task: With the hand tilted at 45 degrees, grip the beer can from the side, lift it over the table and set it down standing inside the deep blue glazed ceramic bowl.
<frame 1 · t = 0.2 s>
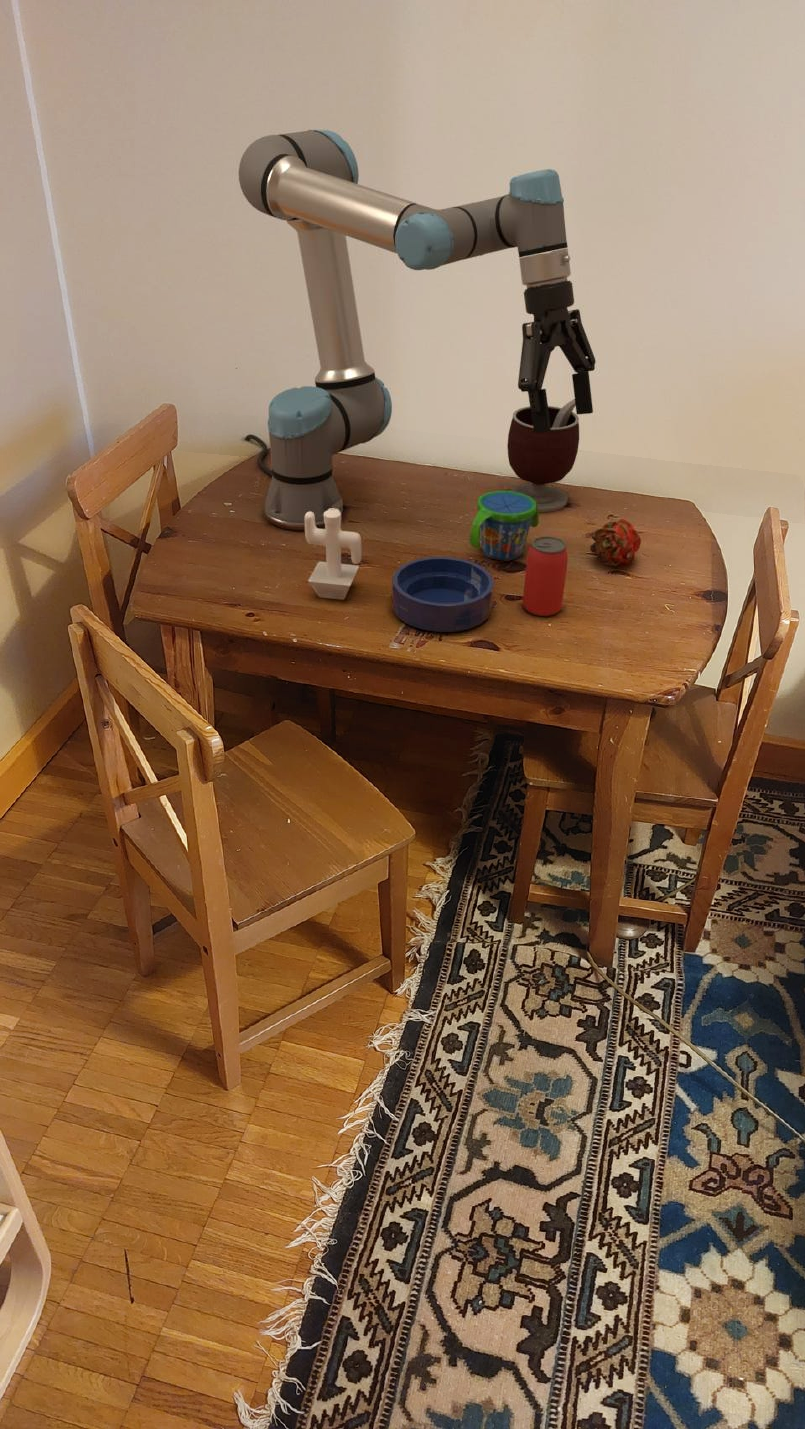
hand: (564, 423, 164), 28 cm above the table, tool tilted 20°, fingers open, 13 cm apart
figurine: (334, 593, 173), on the table
beer can: (541, 609, 171), on the table
bowl: (441, 609, 169), on the table
mate gourd: (540, 499, 206), on the table
snack cup: (502, 554, 186), on the table
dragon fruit: (612, 561, 185), on the table
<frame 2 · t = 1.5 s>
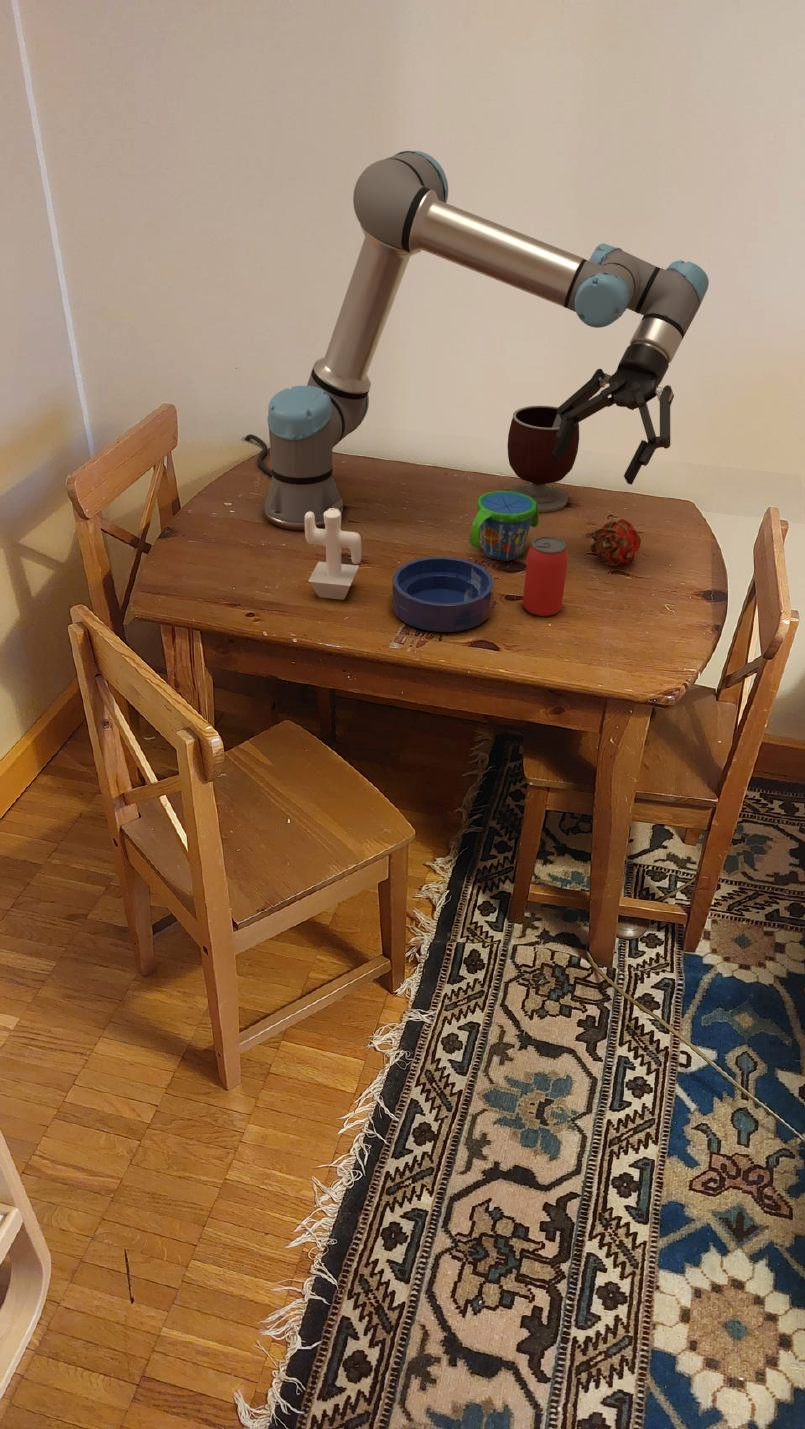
hand: (590, 469, 164), 21 cm above the table, tool tilted 45°, fingers open, 13 cm apart
nothing on the table moved.
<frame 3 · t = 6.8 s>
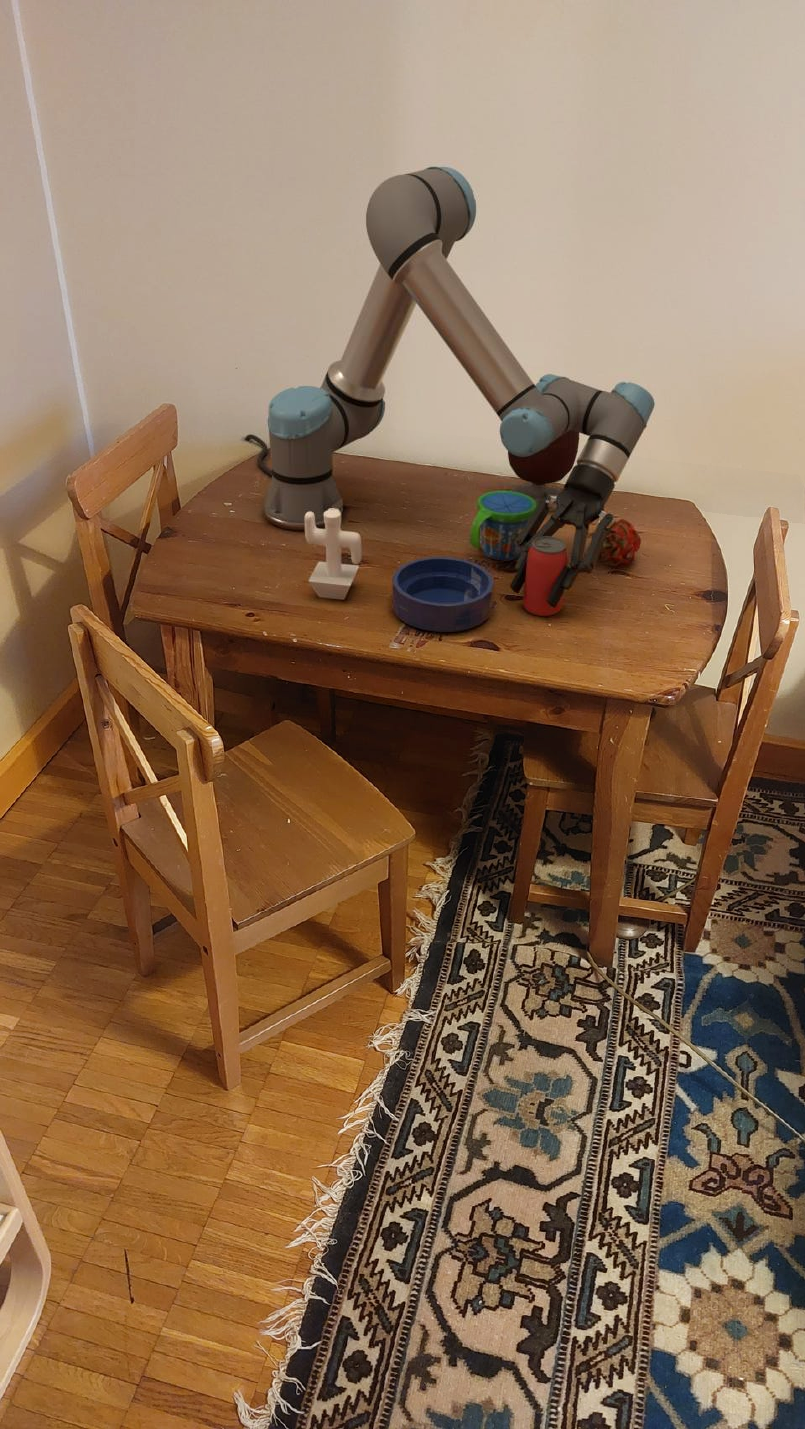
hand: (532, 597, 166), 4 cm above the table, tool tilted 45°, fingers closed on beer can, 6 cm apart
beer can: (541, 608, 171), on the table, touching gripper
everything else where it was.
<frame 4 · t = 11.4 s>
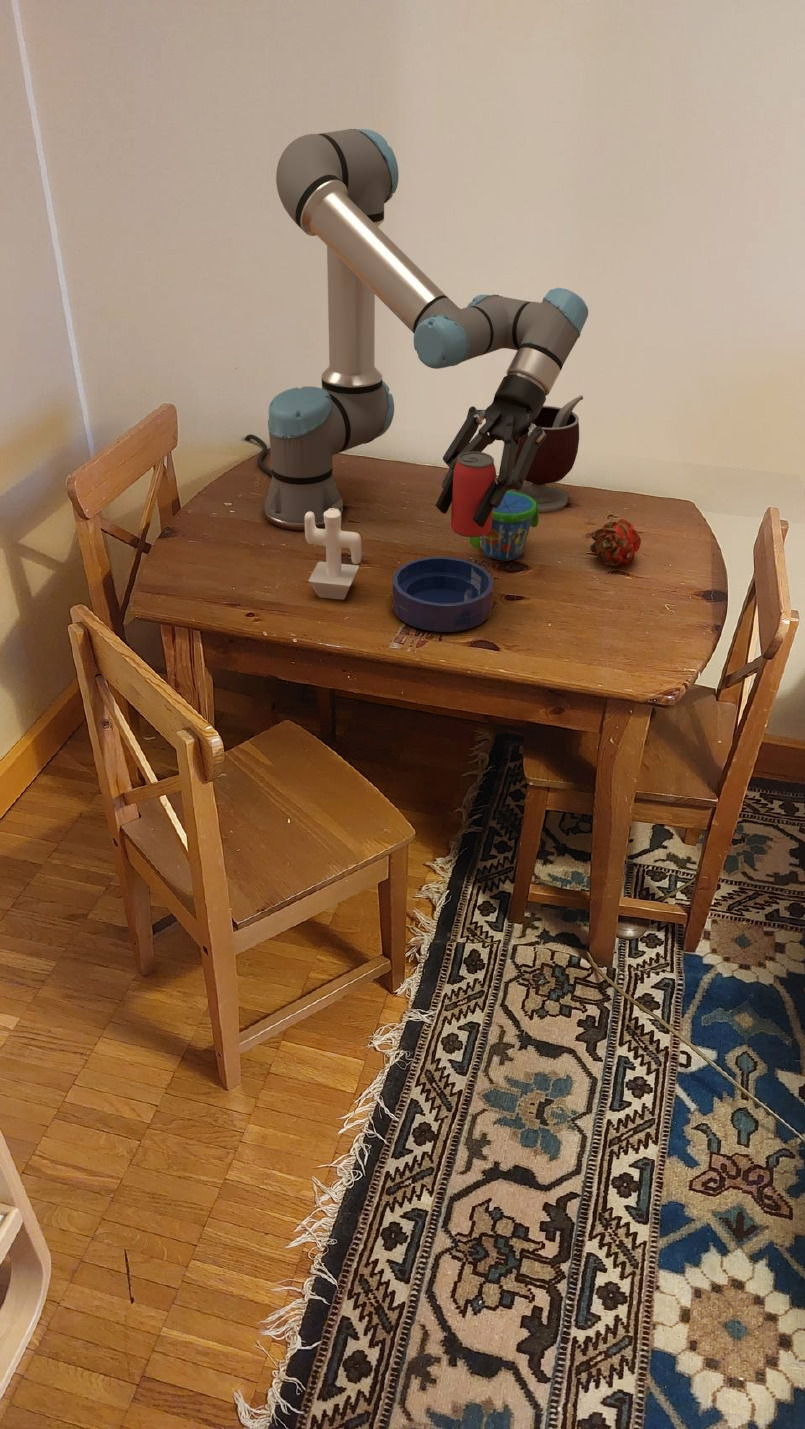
hand: (459, 516, 157), 18 cm above the table, tool tilted 45°, fingers closed on beer can, 6 cm apart
beer can: (470, 530, 161), point 14 cm above the table, touching gripper
everything else where it was.
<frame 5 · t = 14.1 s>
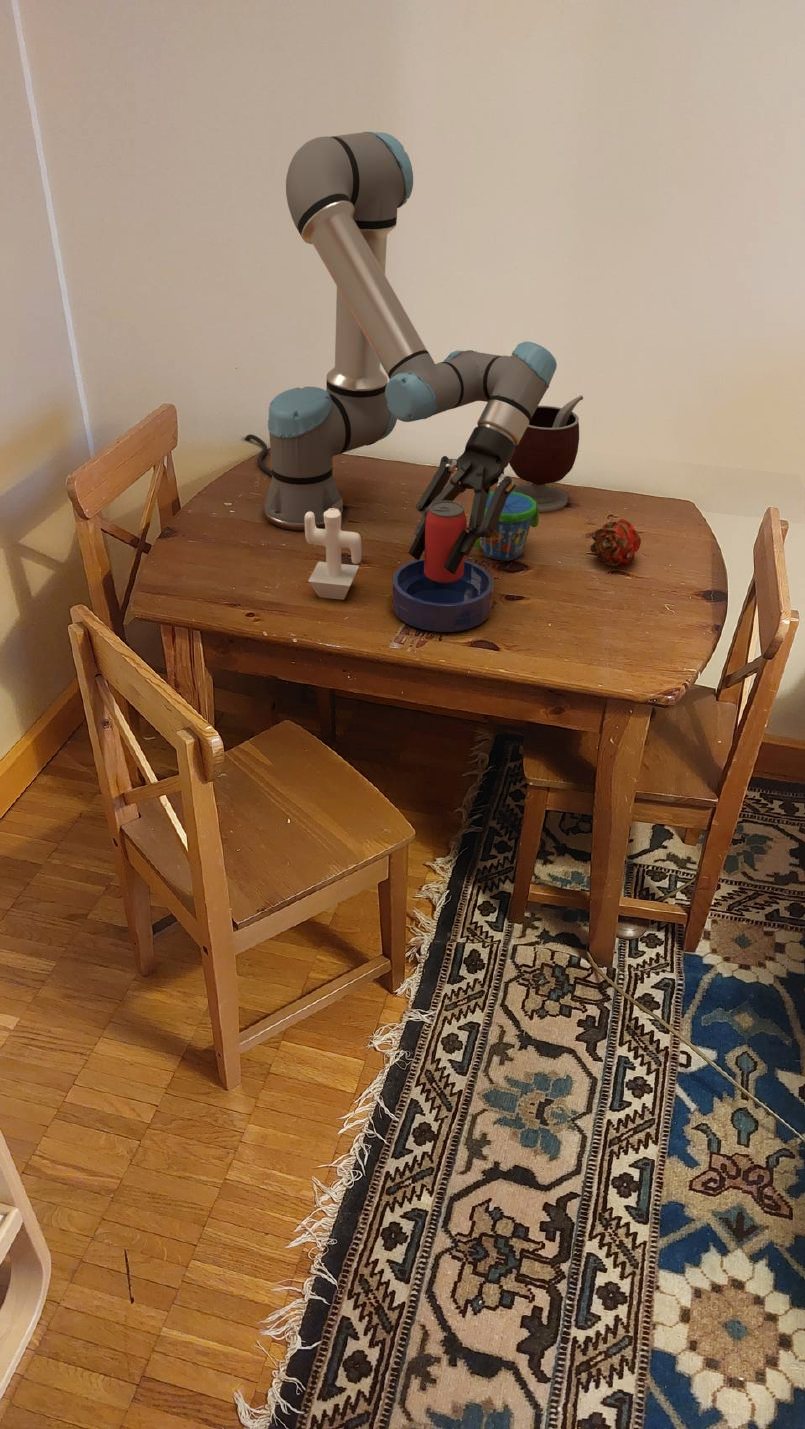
hand: (431, 563, 161), 10 cm above the table, tool tilted 45°, fingers closed on beer can, 6 cm apart
beer can: (443, 576, 166), point 6 cm above the table, touching gripper
everything else where it was.
when the fingers open (4 cm above the table, at t = 16.1 s): beer can stays where it is, resting on bowl.
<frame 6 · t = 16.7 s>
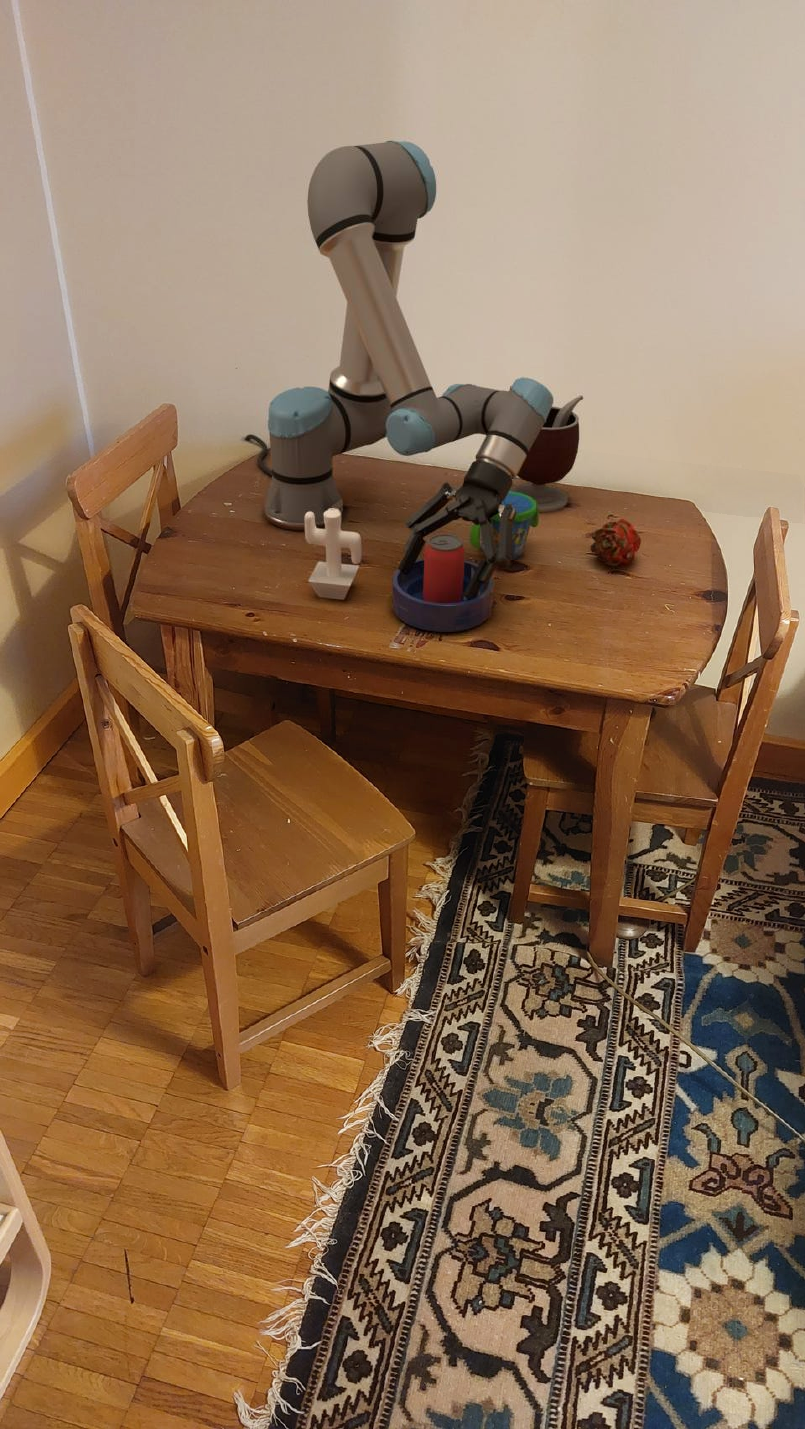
hand: (434, 585, 165), 6 cm above the table, tool tilted 45°, fingers open, 13 cm apart
beer can: (442, 606, 169), resting on bowl
everything else where it was.
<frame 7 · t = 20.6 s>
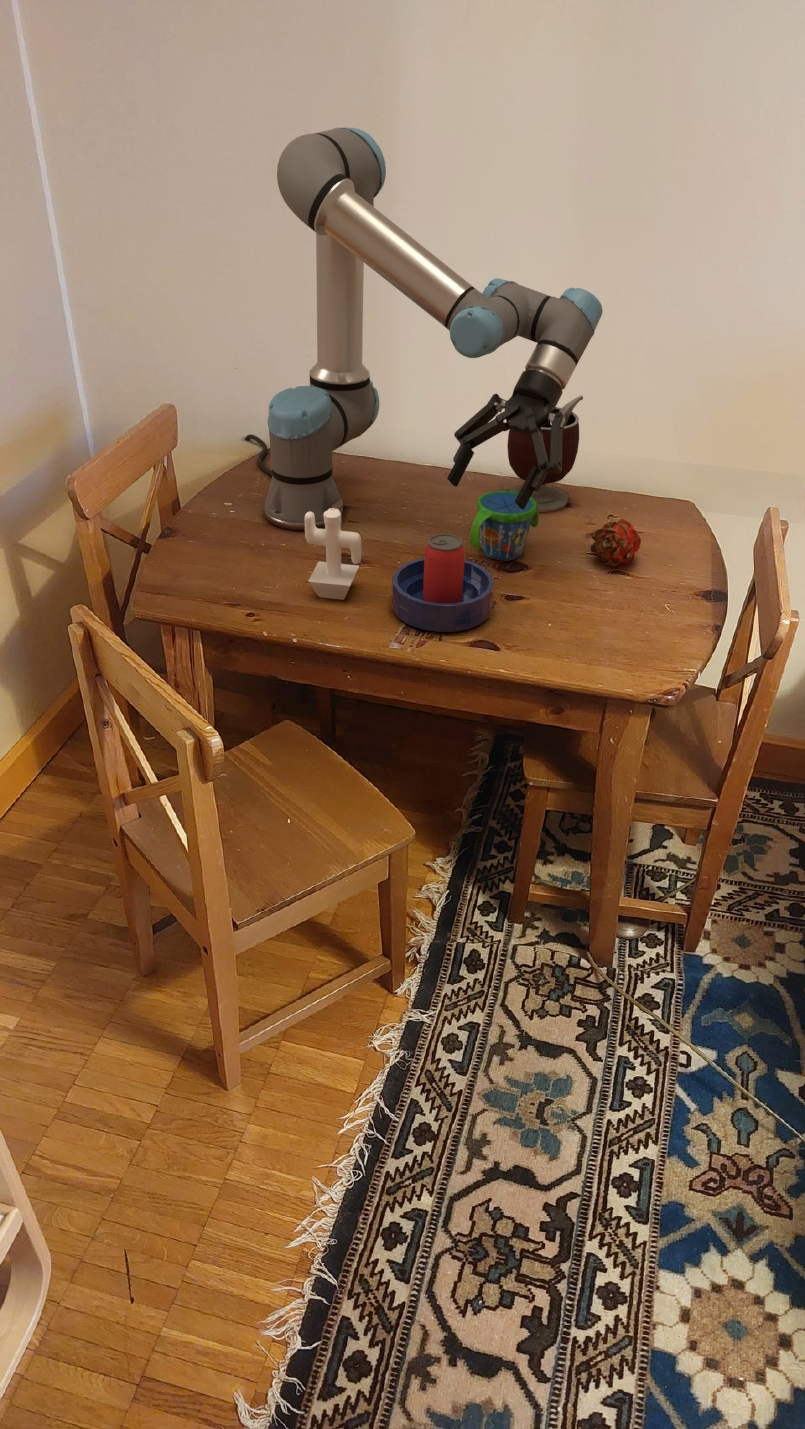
hand: (484, 494, 166), 17 cm above the table, tool tilted 45°, fingers open, 13 cm apart
nothing on the table moved.
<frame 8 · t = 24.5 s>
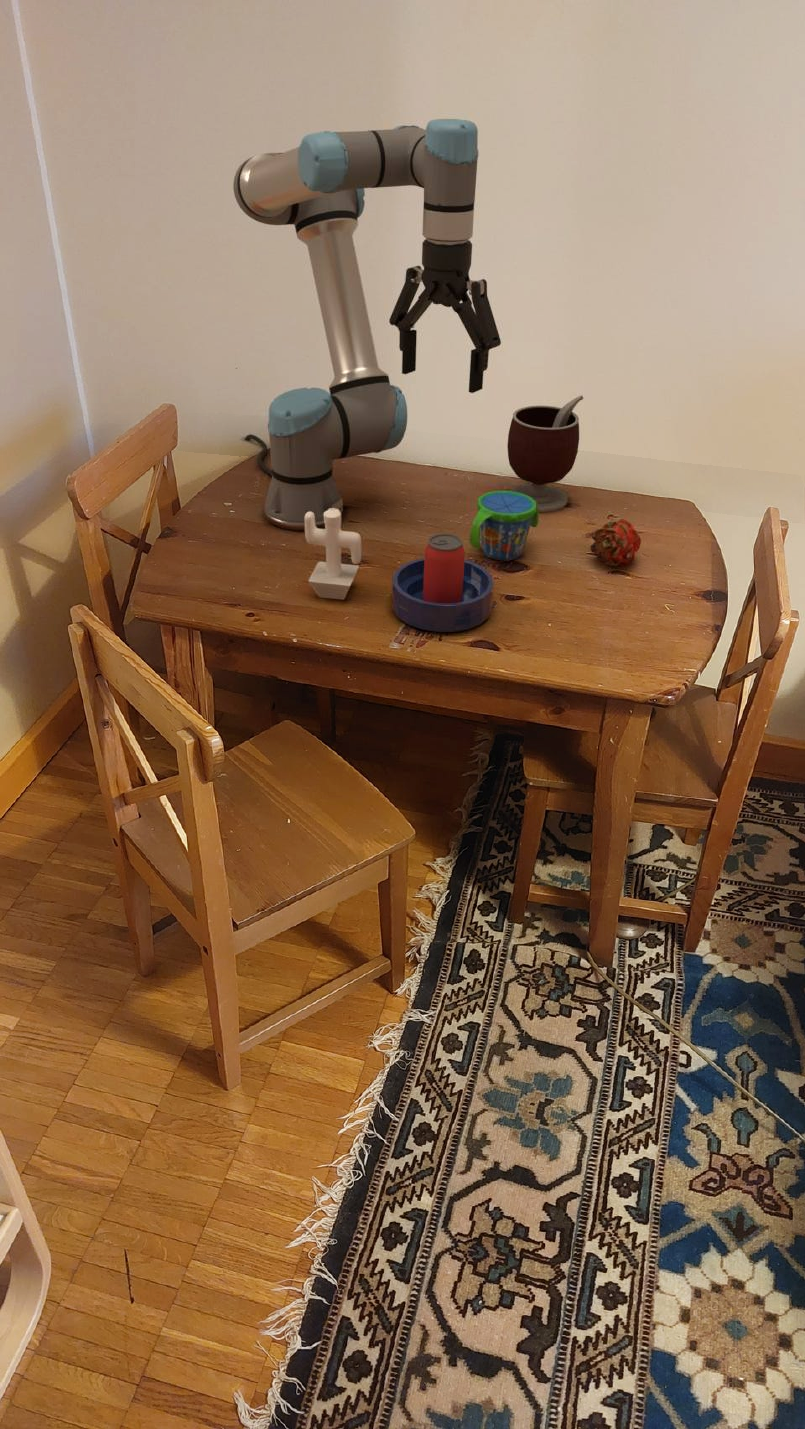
hand: (441, 381, 164), 33 cm above the table, tool pointing down, fingers open, 13 cm apart
nothing on the table moved.
at the end: beer can inside the target area in the bowl (0.1 cm from its centre), point 0.4 cm above the bowl's base; beer can tilted 0°; the gripper is holding nothing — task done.
